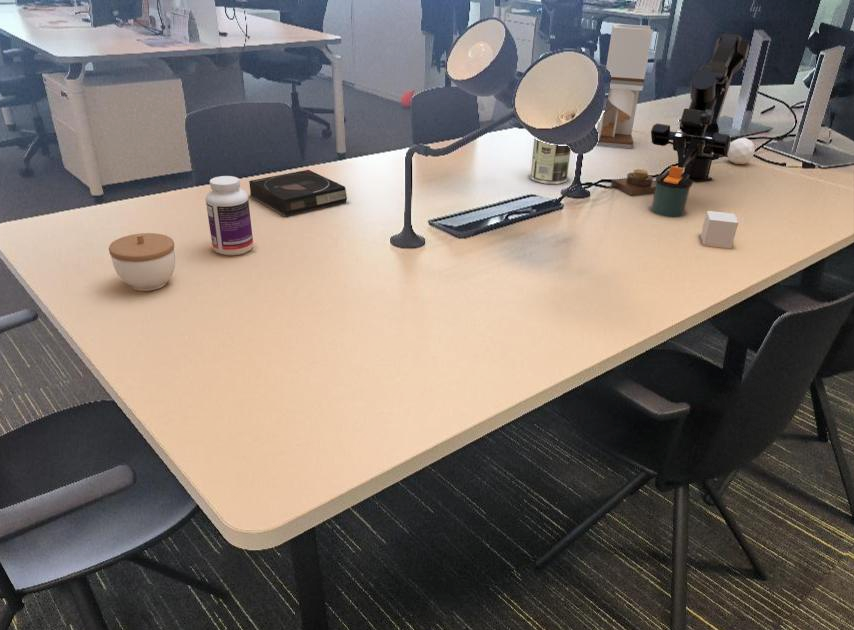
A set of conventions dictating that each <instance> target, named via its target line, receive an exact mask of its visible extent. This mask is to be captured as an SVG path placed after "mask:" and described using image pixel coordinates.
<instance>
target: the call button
mask: <svg viewBox="0 0 854 630" xmlns="http://www.w3.org/2000/svg"><path fill="white" fill-rule="evenodd" d="M633 172H634V173H633ZM633 172H632V173H633V177H636V178H643V179H644V178H647V174H648V173H649V172H648V170H646V169H640V168H639V169H637V168H636V169H634V170H633ZM648 175H649V174H648Z"/></svg>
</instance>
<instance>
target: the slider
mask: <svg viewBox="0 0 854 630" xmlns="http://www.w3.org/2000/svg"><path fill="white" fill-rule="evenodd" d="M669 171H670V172H669V176H667V177H666V178H665V179H664V180H663V182H668V183H673V184H678V183H679V182H680V181H681V180H682V178H681V175H682V173H683V171H684V168H680V167H678V166H675V165H670V167H669Z"/></svg>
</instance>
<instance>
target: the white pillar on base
mask: <svg viewBox="0 0 854 630" xmlns="http://www.w3.org/2000/svg"><path fill="white" fill-rule="evenodd" d="M653 35H654V29H651V25H639V24H625V23H612V27H611V32H610V40H609V46H608V53H607V60H606V66H605V70H606V69H607V70H608V71H609V72H610V75H611V82H610V90H609V94H608V98H607V102H606V109H605V112H604V113H603V116H602V118H601V120H600V122H599V123H598V122H597V126H596V131H597V130H598V134H599V141H598V144H597V147H607V148H618V149H619V148H621V149H631V150H632V149H633V146H634V140H633V135H632V134H633V127H634V122H635V118H636V113H637V111H636V110H637V106H638V99H639V93H640V91H641V92H642V91H643V89H644V84H645V79H646V73H647V68H648V61H649V56H650V52H651V51H650V49H651V44H652V38H653Z"/></svg>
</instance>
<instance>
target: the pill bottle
mask: <svg viewBox="0 0 854 630" xmlns="http://www.w3.org/2000/svg"><path fill="white" fill-rule="evenodd" d="M240 182H241V181H240V179H239V178H238V177H237V176H234V175H233V176H232V175H221V176H215V177H213V178H211V179H209V187H210V189H211V190H210V191H208V192H207V194H206V195H205V205H206V211H207V218H208V226H209V233H210V240H211V247H212V249H213V251H214V252H216V253H218V254H219V255H224V256H239V255H242V254H245V253H248V252H249V251H250V250H252V248H253V246H254V238H253V229H252V228H253V227H252V219H251V212H250V211H251V210H250V202H249V196H248V193H247V192H246V191H245V190H244V189H243V188H241V183H240Z"/></svg>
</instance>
